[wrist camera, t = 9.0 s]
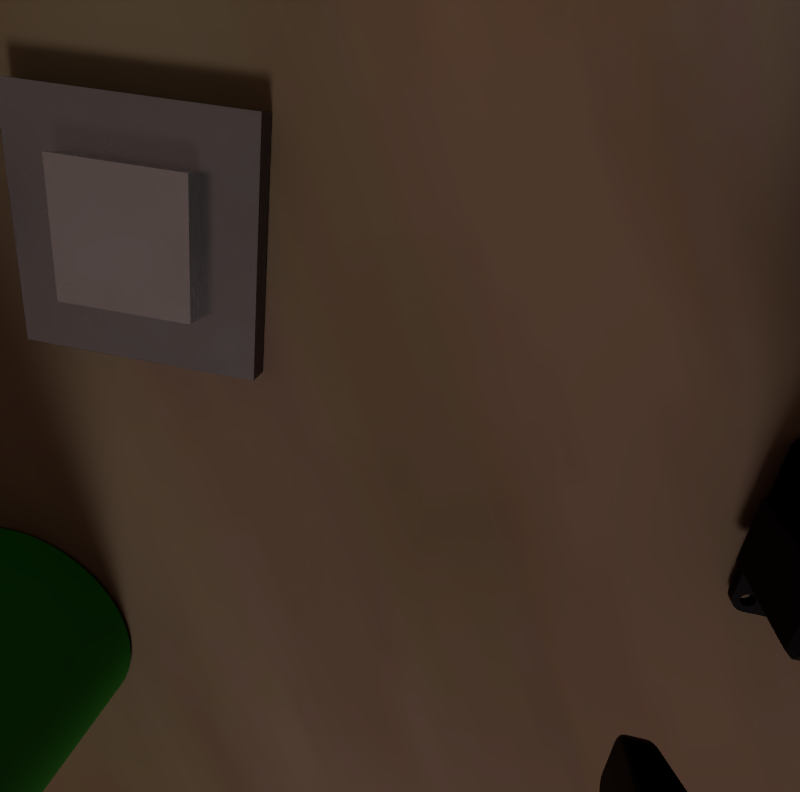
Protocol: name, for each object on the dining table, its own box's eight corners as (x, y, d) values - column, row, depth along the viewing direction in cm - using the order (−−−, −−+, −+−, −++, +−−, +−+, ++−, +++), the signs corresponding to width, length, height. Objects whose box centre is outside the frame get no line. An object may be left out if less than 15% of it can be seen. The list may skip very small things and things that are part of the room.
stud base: (271, 112, 17) (251, 110, 16) (262, 372, 21) (244, 388, 19) (14, 77, 18) (-26, 72, 17) (44, 332, 21) (12, 345, 20)
